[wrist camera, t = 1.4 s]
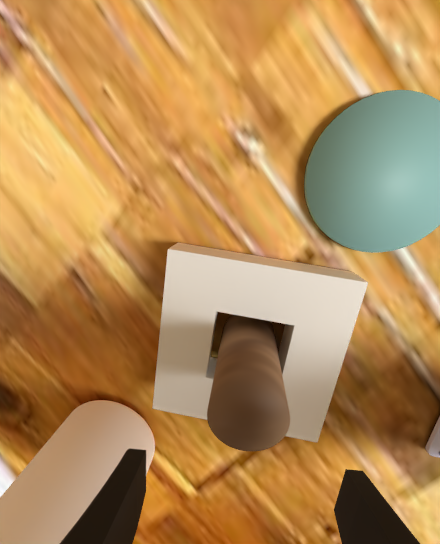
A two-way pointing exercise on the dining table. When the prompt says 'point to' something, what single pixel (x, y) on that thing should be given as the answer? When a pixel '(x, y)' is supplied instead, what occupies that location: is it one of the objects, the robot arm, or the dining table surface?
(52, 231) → the dining table surface
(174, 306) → the block
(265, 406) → the walnut dowel
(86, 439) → the beverage can
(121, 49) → the dining table surface
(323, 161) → the teal pad
